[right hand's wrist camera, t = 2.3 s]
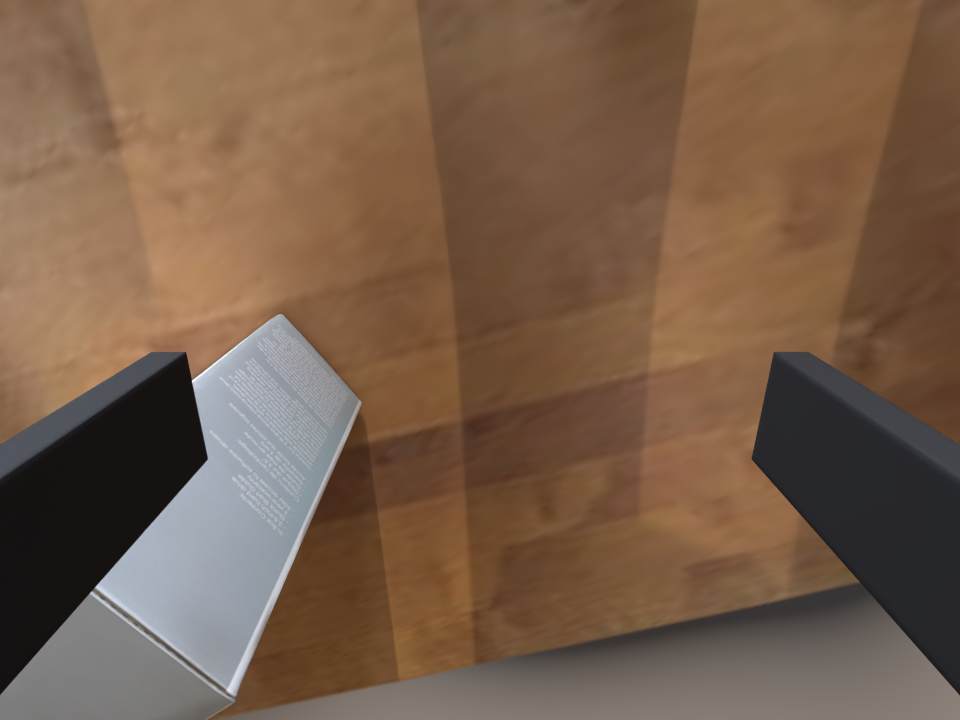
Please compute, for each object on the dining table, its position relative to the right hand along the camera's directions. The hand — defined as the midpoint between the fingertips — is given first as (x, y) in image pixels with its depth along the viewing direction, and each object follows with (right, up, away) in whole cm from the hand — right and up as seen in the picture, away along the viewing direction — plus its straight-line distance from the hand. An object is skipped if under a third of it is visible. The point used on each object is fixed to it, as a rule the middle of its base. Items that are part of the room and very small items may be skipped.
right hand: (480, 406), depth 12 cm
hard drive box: (-15, -3, +22) cm, 27 cm away
